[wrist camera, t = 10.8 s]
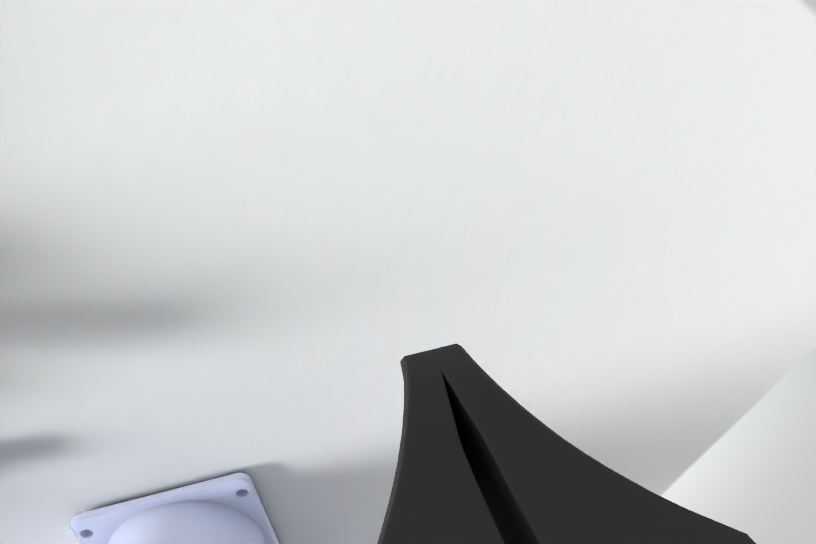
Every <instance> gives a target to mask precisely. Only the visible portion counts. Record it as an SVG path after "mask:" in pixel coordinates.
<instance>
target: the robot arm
mask: <svg viewBox="0 0 816 544" xmlns="http://www.w3.org/2000/svg"><path fill="white" fill-rule="evenodd" d="M400 362H401V367H402V373H403V378H404V414H403V428H402V436H401V443H400V450H399V456H398V463H397V468H396V473H395V478H394V483H393V488H392V492H391V496H390V500H389V504H388V508H387V512H386V515H385V519H384V522H383V526H382V530H381V533H380V536H379V539H378V543H377V544H756V543H755V542H754V541H753V540H752V539H751V538H750V537H749V536H748V535H747V534H745V533H743V532H740V531H738V530H735V529H733V528H731V527H729V526H726V525H724V524H721V523H719V522H716V521H714V520H712V519H709V518H707V517H704V516H702V515H699V514H697V513H695V512H692V511H690V510H688V509H686V508H683V507H681V506H679V505H677V504H675V503H673V502H671V501H669V500H667V499H665V498H663V497H661V496H659V495H656V494H654V493H653V492H651V491H649V490H647V489H645V488H644V487H642V486H640V485H638V484H636V483H635V482H633V481H631V480H629V479H627V478H625V477H624V476H622V475H620V474H618V473H616V472H615V471H613V470H611V469H609V468H608V467H606V466H604V465H603V464H601V463H600V462H598V461H596V460H595V459H593V458H592V457H590V456H588V455H587V454H585V453H584V452H582V451H581V450H579V449H578V448H576V447H575V446H573V445H572V444H570V443H569V442H568V441H566V440H565V439H563V438H562V437H561V436H559V435H558V434H556V433H555V432H554V431H552V430H551V429H550V428H548V427H547V426H546V425H545V424H543V423H542V422H541V421H539V420H538V419H537V418H536V417H534V416H533V415H532V414H531V413H529V412H528V411H527V410H526V409H525V408H524V407H522V406H521V405H520V404H519V403H518V402H517V401H515V400H514V399H513V398H512V397H511V396H510V395H509V394H508V393H507V392H505V391H504V390H503V389H502V388H501V387H500V386H499V385H498V384H497V383H496V382H495V381H494V380H493V379H492V378H491V377H490V376H489V375H488V374H487V373H486V372H485V371H484V370H483V369H482V368H481V367H480V366H479V365H478V364H477V363H476V362H475V361H474V360H473V359H472V358H471V357H470V355H469V354H468V353H467V352H466V351H465V350H464V349H463V347H462V346H460V345H458V344H453V345H449V346H445V347H441V348H437V349H433V350H429V351H424V352H420V353H416V354H412V355H408V356H404V358H403V359H402V360H401V361H400ZM242 489H244V490H242ZM70 529H71V530H72V532H73V533H74V534H75V536H76V537H77V538H78V539H79V541H80V542H81V543H82V544H279V541H278V539H277V537H276V535H275V532H274V530H273V528H272V526H271V523H270V521H269V519H268V517H267V514H266V512H265V510H264V508H263V505H262V503H261V501H260V498H259V496H258V494H257V492H256V489H255V487H254V485H253V483H252V480H251V478H250V477H249V475H247V474H245V473H235V474H231V475H227V476H223V477H219V478H215V479H211V480H208V481H204V482H200V483H196V484H192V485H188V486H184V487H180V488H176V489H172V490H169V491H165V492H161V493H157V494H153V495H149V496H145V497H141V498H137V499H134V500H130V501H126V502H122V503H118V504H114V505H110V506H106V507H102V508H98V509H95V510H91V511H87V512H83V513H79V514H77V515H75V516H74V517H73V518H72V521H71V523H70Z"/></svg>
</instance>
